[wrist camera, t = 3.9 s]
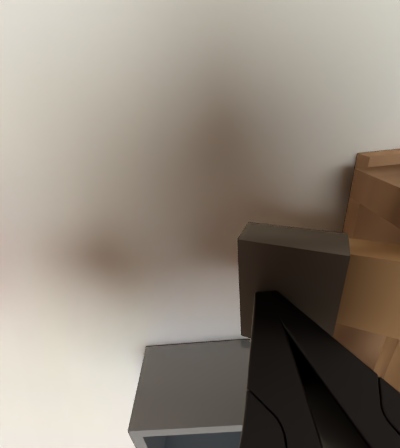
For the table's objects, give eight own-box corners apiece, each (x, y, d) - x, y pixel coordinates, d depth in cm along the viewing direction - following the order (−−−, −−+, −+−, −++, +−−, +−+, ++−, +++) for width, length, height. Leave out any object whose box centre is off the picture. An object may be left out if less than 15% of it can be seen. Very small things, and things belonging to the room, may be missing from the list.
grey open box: (249, 339, 15) (267, 423, 11) (250, 397, 18) (264, 480, 14) (146, 346, 16) (127, 431, 12) (163, 402, 19) (154, 485, 15)
